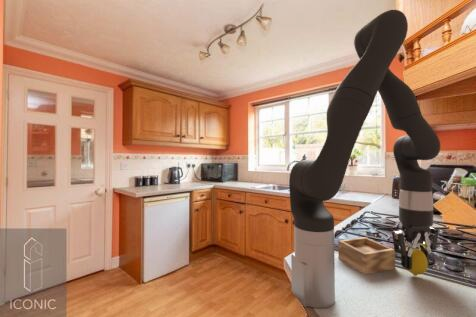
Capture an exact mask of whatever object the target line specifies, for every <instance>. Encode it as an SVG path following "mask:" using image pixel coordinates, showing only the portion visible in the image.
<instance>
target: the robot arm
mask: <svg viewBox="0 0 476 317" xmlns="http://www.w3.org/2000/svg"><path fill="white" fill-rule="evenodd" d="M408 25H409V24H408V19H407V17H406V15H405V13H404V12H403V11H402V10H398V9H388V10H386V11H384V12H382V13H380V14H379V15H377V16H376V17H374V18H373V19H371V21H369V22H367V23H366V24H365V25H364V26H362V27H361V28H360V29H359V30H358V31H357V32H356V33H355V36H354V38H353V46H354V49H355V52H356V55H357V56H358V59H359V60H358V61H357V63H355V65H354V66H353V67H352V68H351V69H350V70H349V72H348V73H347V74H346V75H345V76H344V78H343V79H342V80H341V82H340V83H339V84H338V86H337V87H336V89H335V91H334V93H333V95H332V98H331V99H330V102H329V105H328V107H327V110H326V127H327V128H326V129H327V130H326V131H327V132H326V133H327V134H326V138H325V141H324V144H323V146H322V148H321V149H320V152H319V154H318V156H317V157H316V159H304V160H303V159H302V160H299V161H298V162H296V163H295V164H294V165H293V166H292V168H291V170H290V173H289V181H288V184H289V185H288V186H289V187H288V188H289V205H290V211H291V212H290V213H291V215H292V217H293V224H294V225H293V228H294V230H293V232H294V234H293V235H294V237H293V238H294V241H293V242H294V245H293V247H294V253H293V254H291V255H290V256H291V257H290V260H291V261H290V263H291V264H290V265H291V266H290V268H291V293H292V294H293V295H294V296H295V297H296V299H297V301H299V302H300V304H301V305H302V306H303V307H311V308H314V309H315V308H317V309H325V308H329V307H331V306H333V305H334V303H335V301H336V300H335V299H336V290H335V289H336V286H335V284H336V281H335V280H336V278H335V274H336V272H335V270H336V268H335V218H334V216H333V214H332V213H331V212H330V211H329V209H328V208H327V207H326V206H325V203H324V202H326V201H329V200H331V199H332V198H334V197H335V196H336V195H337V194H338V192H339V191H340V189H341V186H342V184H343V182H344V178H345V176H346V172H347V169H348V165H349V164H350V163H349V162H350V159H351V156H352V152H353V150H354V148H355V145H356V142H357V140H358V138H359V136H360V132H361V130H362V128H363V126H364V123H365V121H366V119H367V117H368V116H369V113H370V110H371V108H372V107H373V104H374V102H375V100H376V96H377V94H378V93H379V95H380V97H381V100H382V102H383V105H384V106H385V107H384V108H385V110H386V113H387V116H388V119H389V121H390V125H391V127H392V128H393V129H395V130H397V131H402V132H405V133H406V134H407V135H401V136H400V137H398V138H397V139H396V140H395V142H394V144H393V147H392V148H393V149H392V150H393V151H392V152H393V157H394V160H395V161H394V162H395V164H396V167H397V171H398V173H399V196H398V221H399V222H400V223H401V228H400V230H399V231H396V230H392V232H391V235H392V243H393V249H394V250H395V253H398V254H400V255H401V256H400V258H401V259H400V262H401V266H402V268H404V269H406V270H407V269H408V270H410V269H412V256H411V254H412V251H413V249H415V248H418V249H419V250H421V251H422V252H423V253H424V254H425V256H426V258H427V262H428V267H429V266H430V254H432V251H436V250H437V244H438V237H439V229H437V228H434V227H432V226H433V225H434V197H433V196H434V195H433V175H432V172H431V171H430V170H428V169H426V168H422V167H421V166H420V165H419V162H418V161H428V160H429V161H430V160H434V158H436V157H437V156H438V155H439V154H440V151H441V141H440V138H439V137H438V135H437V133H436V132H435V130H434V129H433V128H432V127H431V125H430V124H429V122H428V121H427V120H426V118H424V116H423V114H422V111H421V108H420V105H419V103H418V98H417V97H416V94H415V93H414V91H413V89H412V88H411V87H410V86H409V85H408V84H407V83H406V82H404V81H403V80H402V79H400V77H398V76H397V75H395V73H394V72H393V71H392V70H391V69H390V66H391V64H392V63H393V61H394V59H395V57H396V55H397V54H398V52H399V50H401V47H402V45H404V42H405V40H406V37H407V35H408V29H409V26H408ZM407 242H408V243H407ZM407 247H408V248H407ZM406 249H408V250H407V251H406ZM408 270H407V271H408Z"/></svg>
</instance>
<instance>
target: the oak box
mask: <svg viewBox="0 0 476 317" xmlns="http://www.w3.org/2000/svg"><path fill="white" fill-rule="evenodd" d="M337 242H338V259H340V260H341V261H343V262H345V263H347V264H348V265H350V266H351V267H352V268H355V269H356V270H358V271H359V272H361V274H364V275H369V274H373V273H380V272H384V271H390V270H394V269H396V251H395V250H394V248H392V247H391V246H388V245H385V244H383V243H380V242H378V241H376V240H373V239H371V238H369V237H367V236H362V237H357V238H354V237H353V238H349V239H348V238H347V239H340V240H338V241H337Z"/></svg>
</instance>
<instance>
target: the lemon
mask: <svg viewBox="0 0 476 317" xmlns="http://www.w3.org/2000/svg"><path fill="white" fill-rule="evenodd" d="M407 250H408V248H406V251H407ZM411 256H412V269H410V270H408V269H406V270H407V271H408V272H409V273H411V274H412V275H413V276H415V277H416V276H418V275H422V274H424V273H425V272H427V270H428V267H429V266H428V262H427V258H426V256H425V254H424V253H423V252H422V251H421V250H420V249H419V248H418V247H416V248H415V249H413V251H412V254H411Z"/></svg>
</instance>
